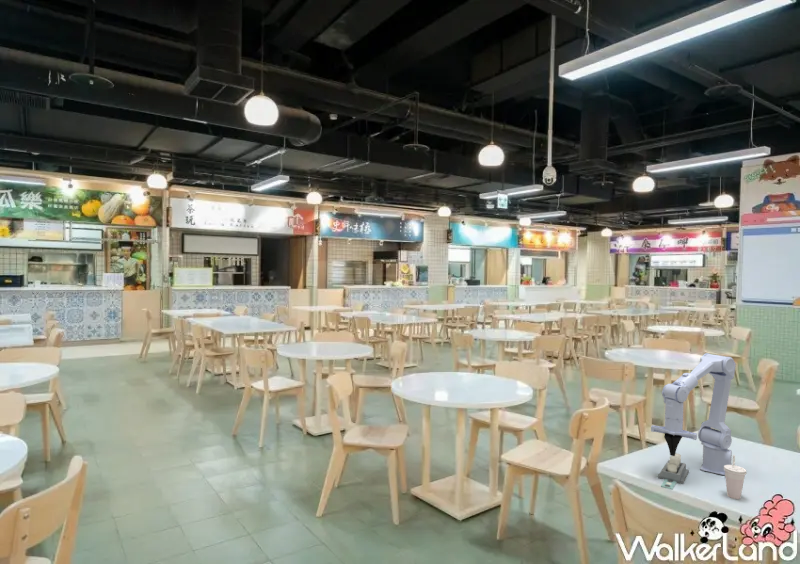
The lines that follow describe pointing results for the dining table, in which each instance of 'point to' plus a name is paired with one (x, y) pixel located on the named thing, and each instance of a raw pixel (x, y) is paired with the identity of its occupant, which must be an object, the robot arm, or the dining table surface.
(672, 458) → the button mid
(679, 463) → the button
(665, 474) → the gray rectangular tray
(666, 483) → the card
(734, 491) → the smoothie
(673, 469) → the button
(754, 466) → the dining table surface
